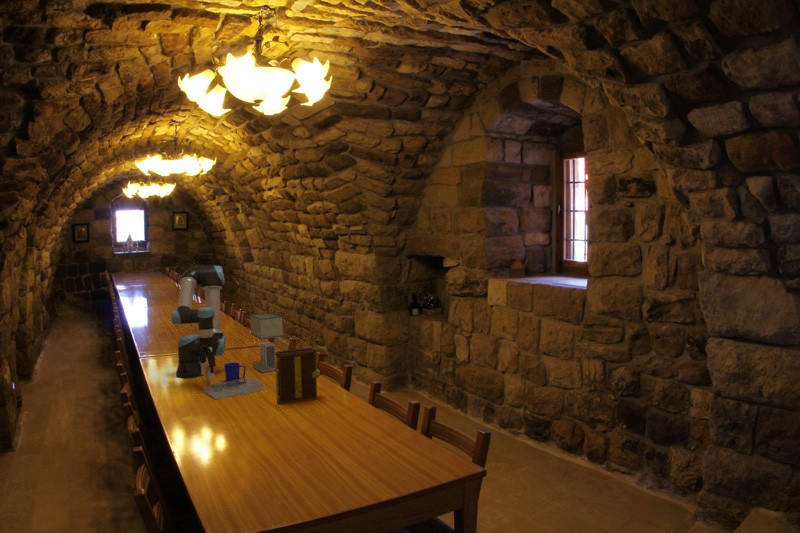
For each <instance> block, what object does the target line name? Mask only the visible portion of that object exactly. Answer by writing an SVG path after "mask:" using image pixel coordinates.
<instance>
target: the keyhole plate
mask: <svg viewBox="0 0 800 533" xmlns="http://www.w3.org/2000/svg"><path fill="white" fill-rule="evenodd" d="M203 387H204V389H203V392H204V393H205V394H206V395H208V396H210V398H213V399H215V400H218V399H219V400H220V399H224V398H230V397H235V396H239V395H245V394H249V393H254V392H261V391H264V390H265V389H264V383H263V382H261V381H259V380H257V379H255V378H252V377H250V376H249V377H244V378H243V379H238V380H232V381H222V382H217V383H210V385H206V384H205V385H203Z"/></svg>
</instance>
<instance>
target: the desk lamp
mask: <svg viewBox="0 0 800 533" xmlns="http://www.w3.org/2000/svg"><path fill="white" fill-rule="evenodd" d="M249 316H250V334H251V335H252V336H253V337H255V338H257V339H260V340H265V341H261V342H259V343H258V344H259V362H256V363H255V362H254V363H251V365H252V366H254V369H256V370H258V371H259V372H261V373H267V372H273V371H275V372H276V359H275V352H276V344H275V343H274V342H272V341H271V342H270V340H269V339H274V338H283V337H284V334H283V333H284V332H283V330H284V329H283V326H284V325H283V316H282V315H280V314H278V313H274V312H266V313H256V314H255V313H254V314H250V315H249Z"/></svg>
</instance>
